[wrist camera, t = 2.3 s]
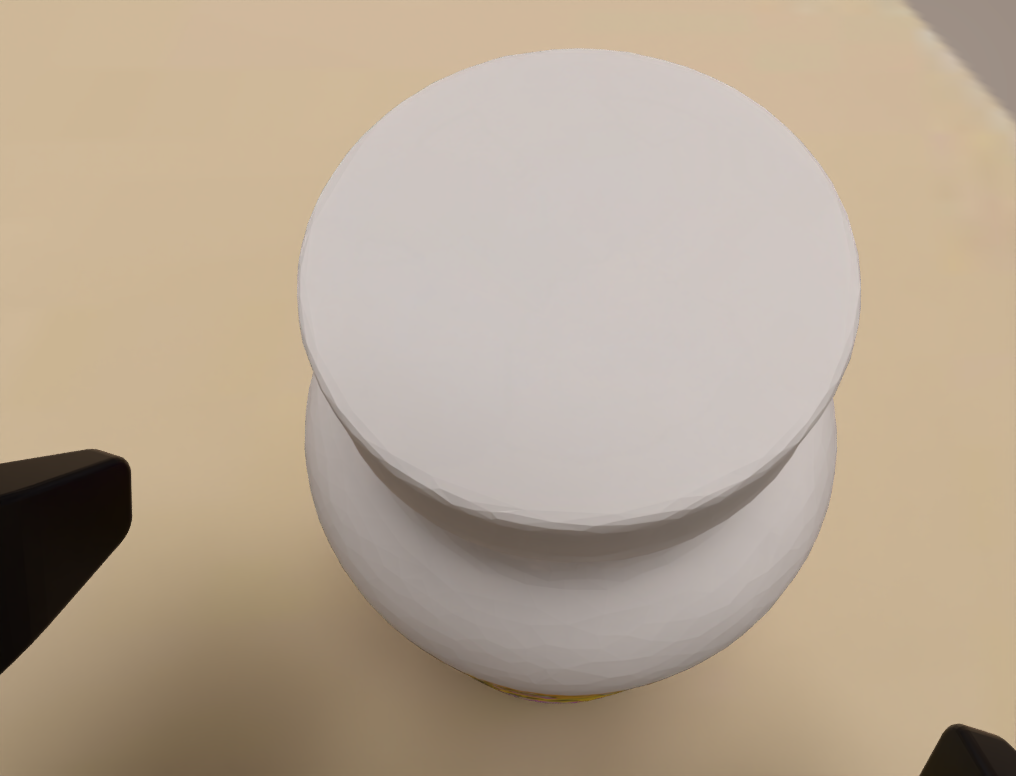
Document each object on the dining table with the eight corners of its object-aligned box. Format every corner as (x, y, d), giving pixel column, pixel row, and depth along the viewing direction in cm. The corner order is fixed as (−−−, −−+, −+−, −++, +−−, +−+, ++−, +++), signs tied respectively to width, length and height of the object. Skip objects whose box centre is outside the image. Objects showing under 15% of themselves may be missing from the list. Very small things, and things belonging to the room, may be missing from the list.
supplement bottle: (363, 559, 18) (13, 261, 6) (549, 379, 20) (547, -118, 8) (565, 777, 16) (607, 938, 4) (755, 553, 18) (1162, 221, 6)
